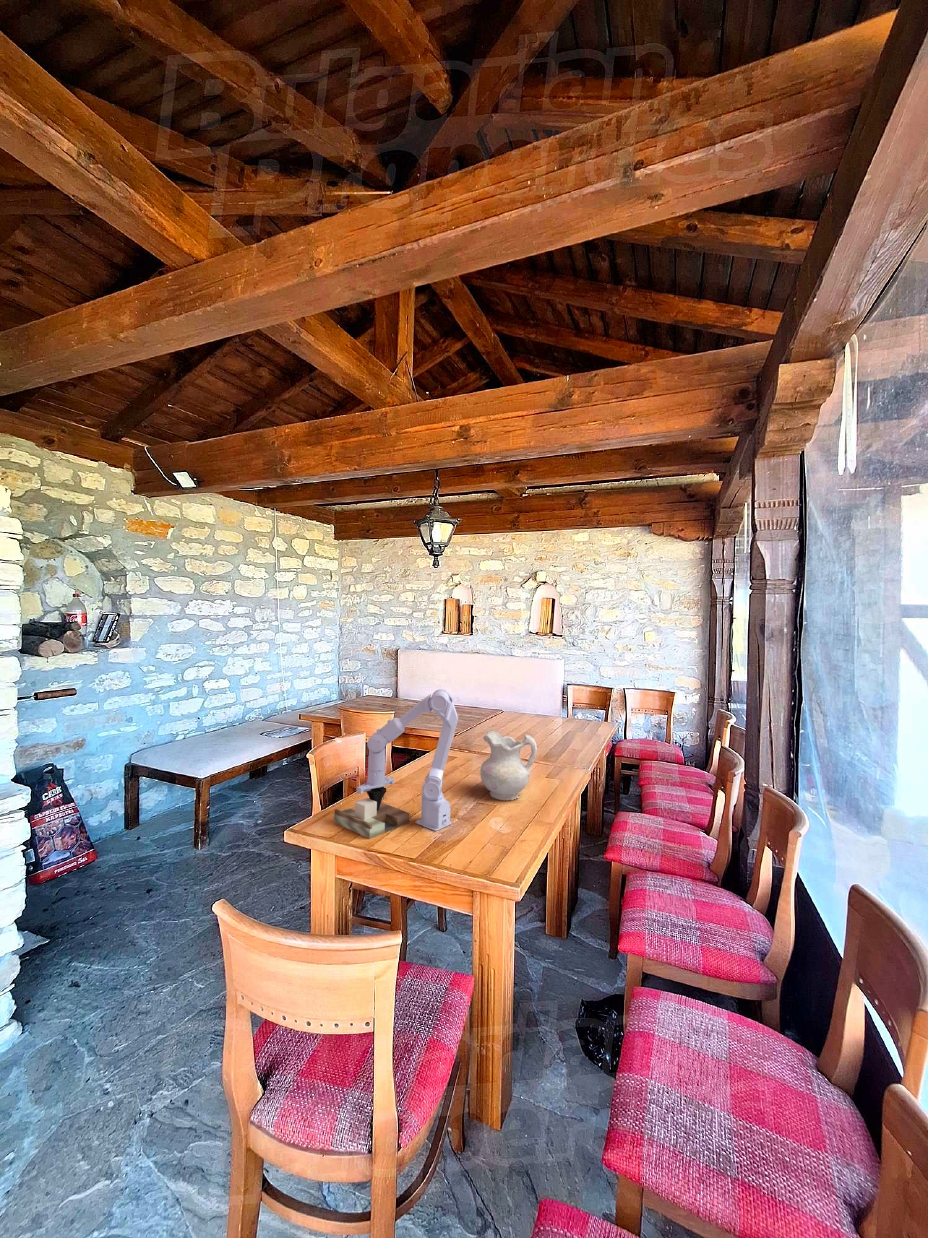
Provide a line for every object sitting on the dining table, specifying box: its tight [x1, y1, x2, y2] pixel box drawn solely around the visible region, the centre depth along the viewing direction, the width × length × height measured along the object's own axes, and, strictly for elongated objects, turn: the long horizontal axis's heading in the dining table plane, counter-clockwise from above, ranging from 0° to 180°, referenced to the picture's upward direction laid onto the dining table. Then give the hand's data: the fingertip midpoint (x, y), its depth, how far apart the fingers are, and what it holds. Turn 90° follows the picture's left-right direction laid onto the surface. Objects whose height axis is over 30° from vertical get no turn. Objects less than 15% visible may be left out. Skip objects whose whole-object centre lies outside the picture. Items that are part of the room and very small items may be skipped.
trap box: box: [333, 801, 411, 840], centre depth 162 cm, size 18×17×4 cm
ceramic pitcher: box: [479, 730, 538, 802], centre depth 191 cm, size 22×20×25 cm
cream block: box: [354, 797, 377, 820], centre depth 160 cm, size 5×5×4 cm
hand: (375, 809), depth 163 cm, fingers closed
